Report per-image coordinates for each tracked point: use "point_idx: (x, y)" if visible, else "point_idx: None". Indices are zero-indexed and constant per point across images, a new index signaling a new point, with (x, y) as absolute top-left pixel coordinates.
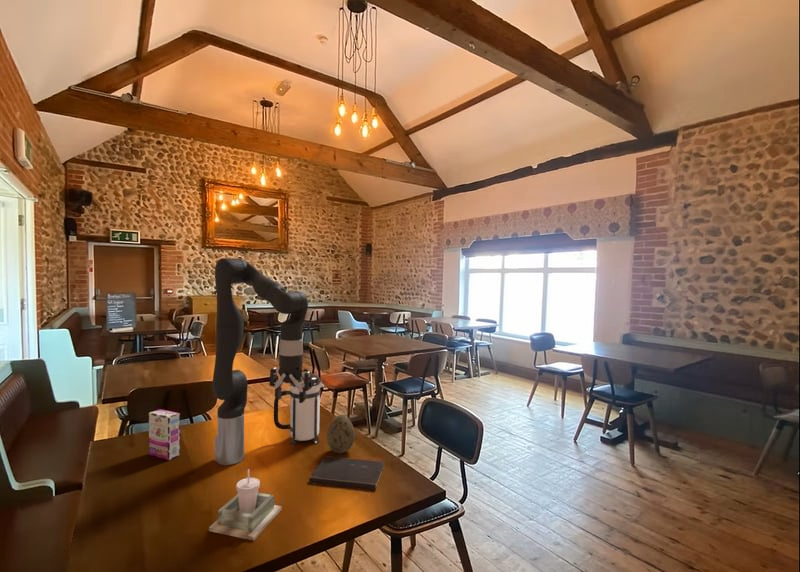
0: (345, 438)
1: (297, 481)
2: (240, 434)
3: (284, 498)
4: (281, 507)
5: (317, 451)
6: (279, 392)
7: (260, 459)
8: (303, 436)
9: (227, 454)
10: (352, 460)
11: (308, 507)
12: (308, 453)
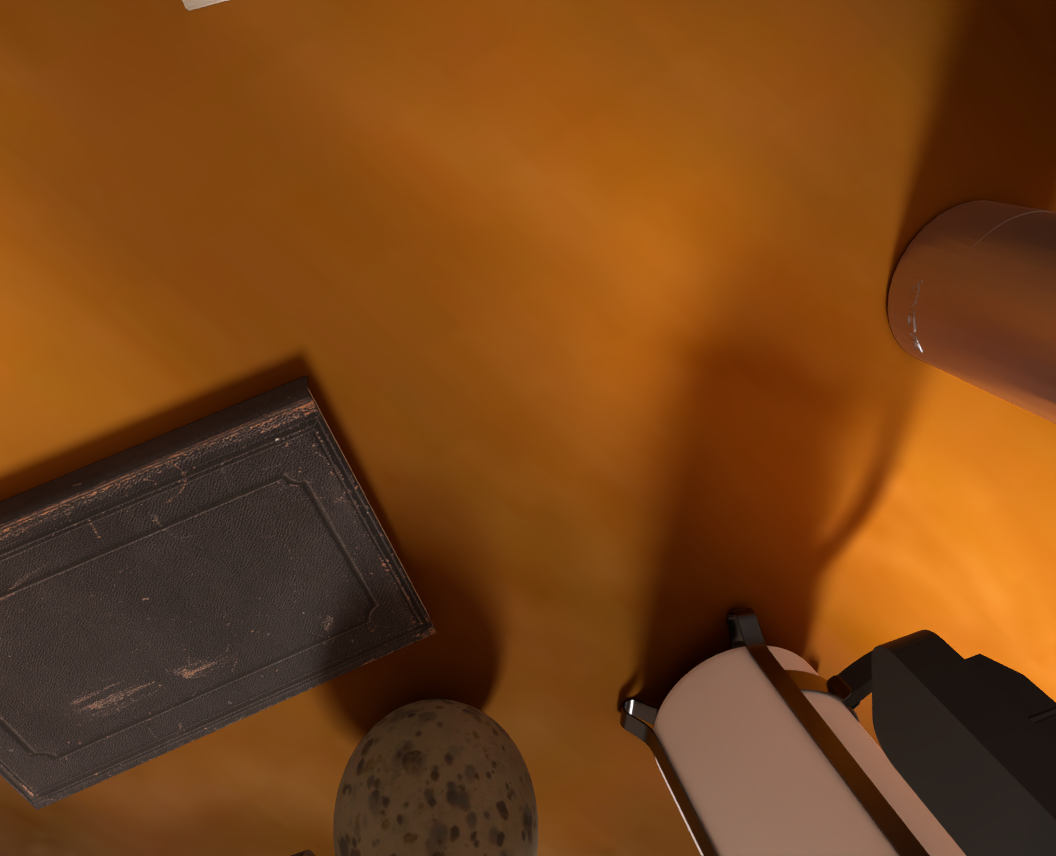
0: (348, 813)
1: (391, 345)
2: (1042, 357)
3: (295, 137)
4: (184, 5)
5: (551, 651)
6: (1000, 824)
7: (794, 390)
8: (701, 685)
9: (990, 232)
10: (237, 701)
11: (43, 146)
12: (582, 606)
